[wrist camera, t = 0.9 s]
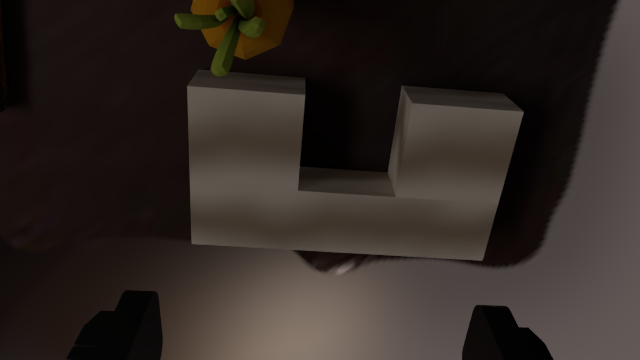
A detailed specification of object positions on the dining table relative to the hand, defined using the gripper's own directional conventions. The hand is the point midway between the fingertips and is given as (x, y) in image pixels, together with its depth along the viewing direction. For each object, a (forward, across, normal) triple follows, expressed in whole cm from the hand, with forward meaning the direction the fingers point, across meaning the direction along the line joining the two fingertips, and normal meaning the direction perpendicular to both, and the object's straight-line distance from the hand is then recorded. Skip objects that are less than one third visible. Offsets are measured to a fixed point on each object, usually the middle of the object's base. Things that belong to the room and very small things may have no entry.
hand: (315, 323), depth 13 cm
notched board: (+26, -3, +8) cm, 27 cm away
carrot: (+26, +4, -4) cm, 27 cm away
